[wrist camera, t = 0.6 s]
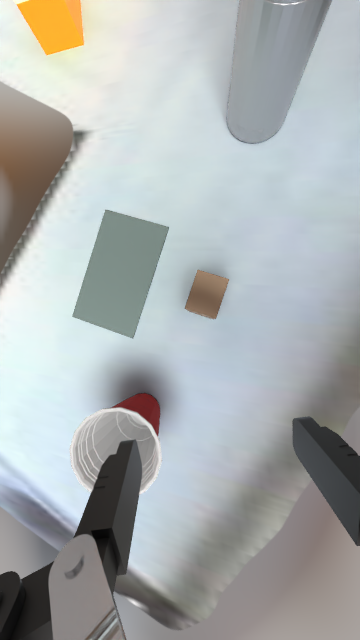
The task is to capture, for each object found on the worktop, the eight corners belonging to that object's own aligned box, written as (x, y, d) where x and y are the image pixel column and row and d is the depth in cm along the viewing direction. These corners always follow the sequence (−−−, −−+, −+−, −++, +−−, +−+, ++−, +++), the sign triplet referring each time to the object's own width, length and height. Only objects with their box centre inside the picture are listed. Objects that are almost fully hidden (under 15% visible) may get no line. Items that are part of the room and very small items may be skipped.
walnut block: (199, 283, 33) (197, 269, 24) (222, 290, 33) (229, 279, 24) (190, 311, 33) (184, 308, 24) (212, 319, 33) (215, 318, 24)
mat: (106, 210, 35) (105, 209, 35) (168, 227, 34) (168, 227, 34) (72, 316, 36) (72, 316, 36) (133, 338, 34) (132, 338, 34)
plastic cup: (172, 446, 34) (155, 515, 22) (112, 435, 35) (65, 494, 23) (179, 382, 33) (165, 417, 22) (118, 374, 35) (73, 402, 23)
